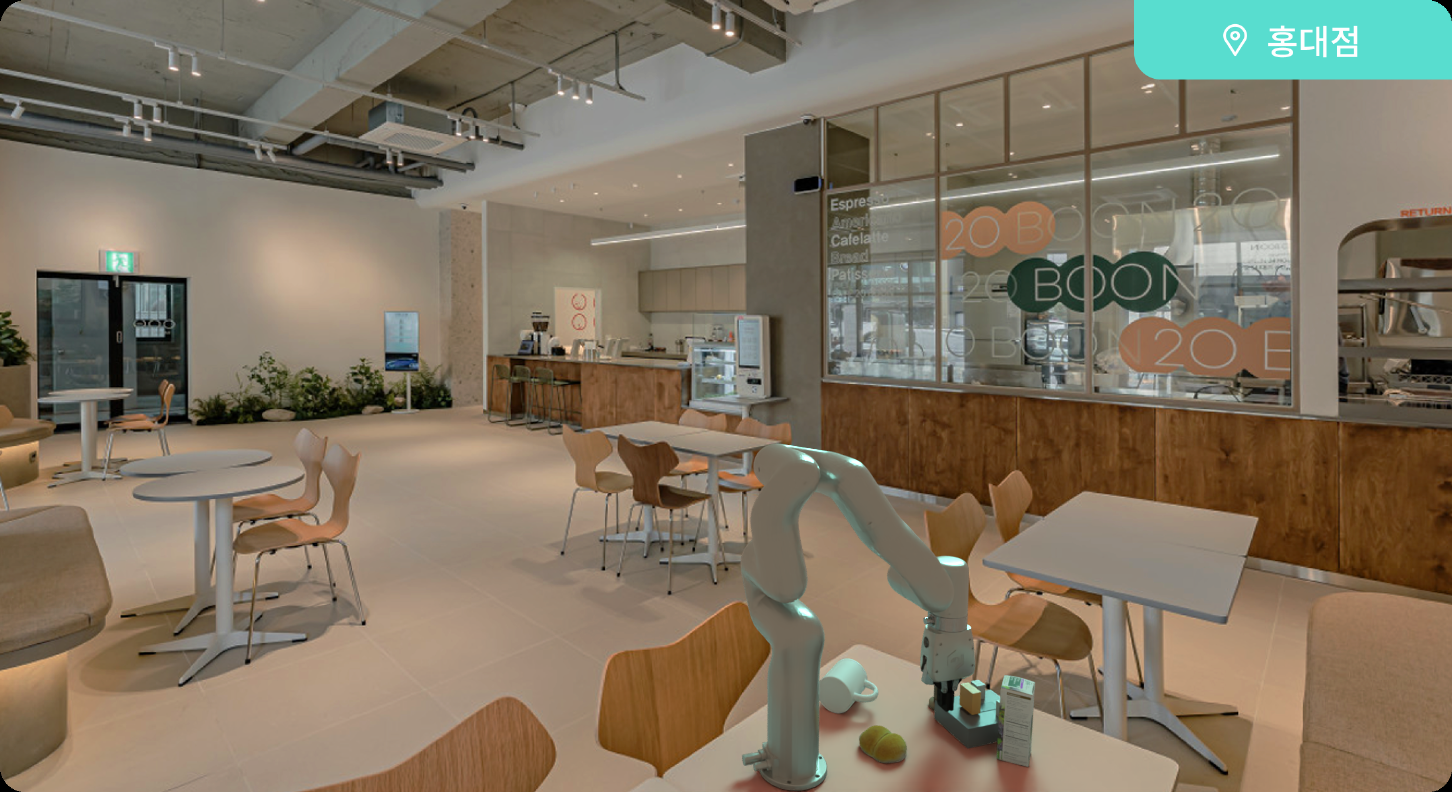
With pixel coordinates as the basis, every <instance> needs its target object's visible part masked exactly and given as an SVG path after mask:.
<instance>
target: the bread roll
mask: <svg viewBox="0 0 1452 792" xmlns="http://www.w3.org/2000/svg"><path fill="white" fill-rule="evenodd" d="M858 743H859V747H860V749H861V750H862V752H863V753H864V754H866V755H868V756H869V757H870V758H873V759H874V760H875V761H876V762H879V763H882V764H895V763H900V762H901V761H903V760H904V759H905V758H906V756H907V751H908V749H907V743H906V741H905V739H904V737H902V735H900V734H898V733H895V732H891V730H889V729H888V728H887V727H885V726H884V725H876V724H875V725H871V726H870V727H868V728H867V729H865V730H864V731H863V732H862V733H861V734H860V735H859V736H858Z"/></svg>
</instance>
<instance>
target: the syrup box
mask: <svg viewBox="0 0 1452 792" xmlns="http://www.w3.org/2000/svg"><path fill="white" fill-rule="evenodd" d="M1035 689H1036V682H1035V681H1032V680H1030V679H1026V678H1023V677H1019V676H1013V675H1006V674H1004V675H1003V679H1002V683H1001V687H1000V692H999V694H1000V695H999V696H1000V707H999V724H998V742H996V743H997V746H996V759H997V760H999V761H1004V762H1007V763H1011V764H1015V765H1020V766H1023V767H1026V768H1029V767H1030V761H1031V753H1032V752H1031V751H1032V741H1033V728H1034V727H1033V726H1034V725H1033V722H1034V707H1035Z"/></svg>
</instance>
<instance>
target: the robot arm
mask: <svg viewBox="0 0 1452 792" xmlns="http://www.w3.org/2000/svg"><path fill="white" fill-rule="evenodd" d="M753 472H754V475H755V477H756V478H757V480H758V481H759V483H761V484H762V485H763V487H762V488H761V490H760V492H759V493H758V494H757V497H756V499H755V500H754V502H753V506H752V508H751V511H750V518H749V519H750V521H749V522H750V530H751V531H750V532H751V537H752V539H751V540H750V541H749V542H748V543H746V546H745V547H744V548H743V550H742V554H741V557H740V574H741V578H742V584H743V589H744V593H745V599H746V603H747V607H748V612H749V616H750V618H751V621H752V623H753V625H754V628H756V630H757V631H758V632H759V633H760V634H761V636H763V638H764V639H765V640H766V641H767V642H768V643H769V644H770V647H771V658H770V662H769V665H768V669H767V679H766V681H767V683H766V684H767V687H766V688H767V713H766V714H767V715H766V716H767V725H766V729H767V731H766V732H767V738H766V739H767V740H766V741H764V742H762V743H761V746H762V747H761V748H759V749H757V751H755V752H749V753H743V754H741V761H742V764H743V767H747V766H752V768H753V771H754V772H759V773H760V775H761V777H762V778H763V779H764V781H766V782H767V783H769V784H771V786H774V787H776V788H778V789H782V790H787V791H797V792H798V791H805V790H809V789H813V788H815V787H817V786H819V785H820V784H821V783H822V782H823V781H824V780H825V779H826V777H827V775H828V774H827V773H828V764H827V761H826V759H825V757H824V756H823V755H822V754H821V753H820V700H819V681H820V676H821V675H820V673H821V661H822V656H823V653H824V648H825V640H826V639H825V638H826V637H825V635H826V634H825V629H824V626H823V624H822V622H821V620H820V619H819V617H818V615H816V613H815V612H814V611H813V610H812V609H811V608H810V607H808V606H807V605H806V604H805V603H804V602H802V601H801V600H800V599H801V598H802V597H803V596H804V595H805V592H806V590H807V587H808V582H809V581H808V580H809V578H808V570H807V569H808V568H807V564H806V560H805V555H804V551H803V550H804V549H803V545H802V540H801V535H800V526H799V518H800V514H801V512H802V510H803V508H804V506H805V504H807V502H808V500H809V499H810V498H811V497H812V496H813V495H814V493H819V494H821V495H823V496H826V497H828V498H829V499H831V500H832V501H833V502H834V504H835V505H836V506H837V508H838V509H839V511H840V512H841V514H842V515H843V517H844V519H845V520H846V521H847V523H848V524H849V526H851V528H852V530H853V531H854V533H855V535H856V536H857V537H858V538H859V540H860V541H861V543H862V544H864V545H865V546H866V547H867V548H868V549H869V550H870V551H871V552H872V553H873V554H874V555H876V556H877V557H879V558H880V559H882V560H883V562H885V563H886V564H888V566H889V568H888V570H887V573H886V577H887V582H888V584H889V586H890V588H891V589H892V590H893V591H894V592H895V593H897V594H898V595H899V596H901V597H903V598H904V599H906V600H908V601H909V602H911V603H912V604H914V605H915V606H918V608H920V609H922V610H923V611H925V612H927V616H926V617H923V619H922V622H923V623H924V625H925V627H924V630H923V634H922V640H921V647H920V660H919V661H920V662H919V663H920V664H919V668H920V671H921V672H922V675H921V682H922V683H923V684H924V685H926V686H927V685H929V686H934V685H935V687H937V704H938V706H940V707H941V708H942V709H943V710H944V711H945V712H948V711H949V710H950V711H953V710H954V697H955V692H957V690H958V687H959V685H960V684H961V682H962V680H965V679H967V678H969V677H971V676H972V675H974V673H975V670H976V669H975V668H976V656H975V654H976V653H975V642H974V637H973V630H972V627H971V626H970V625H969V624H968V622H969V621H968V619H969V617H968V614H969V584H970V582H969V581H970V580H969V579H970V571H969V570H970V567H969V565H968V563H967V562H966V561H965V560H964V559H962V558H959V557H957V556H952V555H941V556H936V555H935V553H934V552H933V551H932V550H931V548H930V547H929V546H928V545H927V544H926V543H925V542H924V541H923V540H922V539H921V538H920V537H919V536H918V535H917V534H916V533H915V532H914V530H913V529H912V528H911V527H910V526H909V525H908V523H906V522H905V521H904V519H902V518H901V516H900V515H899V514H898V512H897V511H896V509H895V508H894V507H893V505H892V504H891V502H890V501H889V499H888V498H887V496H886V495H885V493H884V492H883V490H882V489H881V487H880V486H879V484H878V483H877V481H876V479H875V478H874V477H873V475H872V473H871V472H870V470H869V469H868V467H866V466H865V465H864V464H863V463H862V462H861V461H859V460H857V459H855V458H853V457H850V456H847V455H845V454H844V455H843V454H841V453H838V452H835V451H829V450H828V451H827V450H821V449H813V448H807V447H801V446H795V445H788V444H784V443H771V444H767V445H765V446H764V447H762V448H761V449H759V450H758V452H757V454H756V455H755V457H754V460H753Z"/></svg>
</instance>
